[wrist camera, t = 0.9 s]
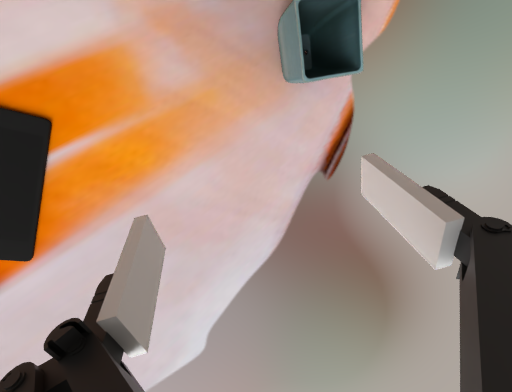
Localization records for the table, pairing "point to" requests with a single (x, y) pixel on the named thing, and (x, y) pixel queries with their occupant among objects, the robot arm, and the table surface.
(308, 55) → the flower pot
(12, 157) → the cell phone
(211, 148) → the table surface
